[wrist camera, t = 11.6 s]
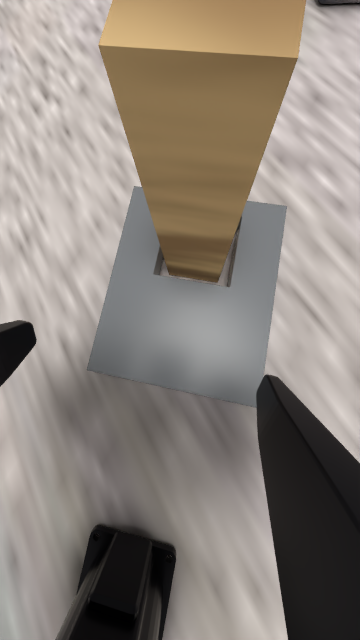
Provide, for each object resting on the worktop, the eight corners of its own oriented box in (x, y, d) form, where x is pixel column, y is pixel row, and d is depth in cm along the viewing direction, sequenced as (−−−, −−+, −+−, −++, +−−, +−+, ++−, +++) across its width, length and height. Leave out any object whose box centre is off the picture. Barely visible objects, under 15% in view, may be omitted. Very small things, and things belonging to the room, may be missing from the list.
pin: (217, 282, 18) (297, 57, 4) (169, 274, 18) (98, 44, 5) (225, 237, 19) (318, -89, 5) (178, 230, 19) (140, -90, 5)
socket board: (250, 401, 16) (258, 408, 14) (98, 368, 18) (86, 370, 16) (276, 221, 19) (286, 206, 17) (140, 202, 20) (134, 186, 18)
